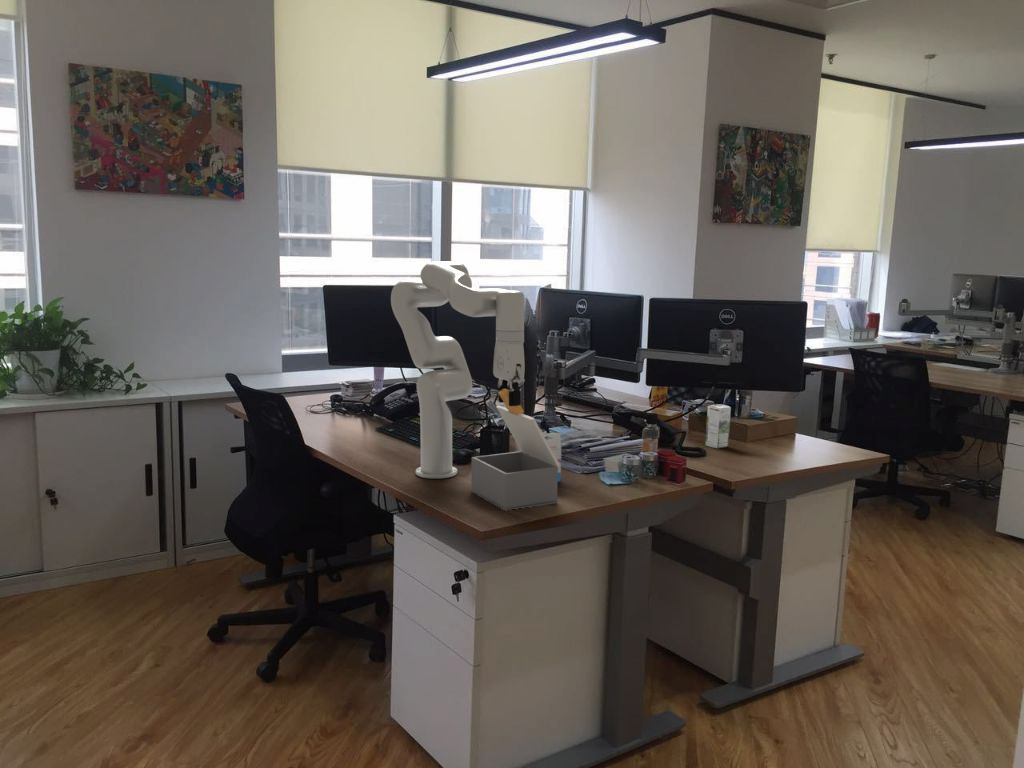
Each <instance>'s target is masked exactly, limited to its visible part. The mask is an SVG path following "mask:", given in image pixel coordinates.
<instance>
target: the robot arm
mask: <svg viewBox="0 0 1024 768" xmlns="http://www.w3.org/2000/svg"><path fill="white" fill-rule="evenodd" d="M448 302H449V304H450V306H451V308H452V309H454V310H455V311H457V312H459V313H460V314H463V315H464V316H467V317H471V318H483V317H495V346H494V350H493V351H494V352H493V366H492V373H493V376H494V377H495V378H496V381H497V387H498V392H499V391H501V390H502V389H503V388H505V389H508V390H510V391H509V406H519V405H521V391H522V387H523V384H524V383H525V382H526V380H525V371H526V370H525V364H526V363H525V350H524V349H525V348H524V343H525V294H524V293H523V292H522V291H521V290H511V289H505V288H499V287H498V288H496V287H495V288H494V287H493V288H473V282H472V279H471V277H470V273H469V270H468V269H467V266H465V264H463V263H462V262H460V261H454V260H453V261H452V260H451V261H449V260H447V261H444V260H443V261H441V260H439V261H438V260H437V261H431V262H428V263H426V264H425V265H424V266H423V267H422V269H421V270H420V278H416V279H415V278H413V279H406V280H405V279H403V280H401V281H399V282H397V283H396V284H395V285H394V286H393V287H392V290H391V294H390V304H391V309H392V312H393V316H394V317H395V319H396V321H397V322H398V324H399V326H400V329H401V330H402V333H403V335H404V339H405V342H406V345H407V348H408V352H409V355H410V357H411V360H412V362H413V364H414V366H415V367H416V368H418V369H422V370H427V369H435V370H429V371H426V372H423V373H422V374H421V375H420V376H418V378H417V381H416V392H417V397H418V401H419V402H418V403H419V416H420V419H419V420H420V421H419V422H420V424H419V425H420V426H419V427H420V466H419V467H418V468H416V469H415V475H416V476H418V477H420V478H424V479H432V480H433V479H434V480H435V479H447V478H452V477H454V476H457V474H458V468H456V467H455V466H453V416H452V411H451V410H450V408H449V407H448V405H447V403H446V402H449V401H450V402H451V401H456V400H461V399H465V398H467V397H468V396H470V394H471V393H472V390H473V379H472V376H471V373H470V370H469V367H468V364H467V363H468V362H467V360H466V358H465V354H464V351H463V349H462V347H461V345H460V343H459V342H458V340H456V339H455V338H454V337H452V336H451V335H450V336H449V335H441V336H439V335H438V336H436V335H435V334H434V332H433V330H432V327H431V323H430V322H429V320H428V319H427V317H426V316H425V315H424V314H423V313H422V312H421V311H419V309H418V308H430V307H431V308H432V307H433V308H434V307H441V306H443V305H445V304H447V303H448ZM438 368H443V369H438ZM436 369H437V370H436ZM498 402H499V403H504V402H503V400H502V398H501V397H500V395H499V394H498Z"/></svg>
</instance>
